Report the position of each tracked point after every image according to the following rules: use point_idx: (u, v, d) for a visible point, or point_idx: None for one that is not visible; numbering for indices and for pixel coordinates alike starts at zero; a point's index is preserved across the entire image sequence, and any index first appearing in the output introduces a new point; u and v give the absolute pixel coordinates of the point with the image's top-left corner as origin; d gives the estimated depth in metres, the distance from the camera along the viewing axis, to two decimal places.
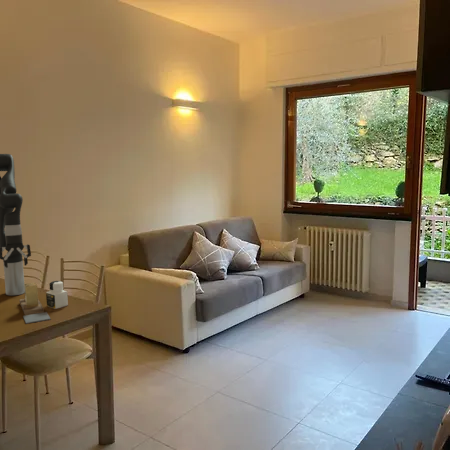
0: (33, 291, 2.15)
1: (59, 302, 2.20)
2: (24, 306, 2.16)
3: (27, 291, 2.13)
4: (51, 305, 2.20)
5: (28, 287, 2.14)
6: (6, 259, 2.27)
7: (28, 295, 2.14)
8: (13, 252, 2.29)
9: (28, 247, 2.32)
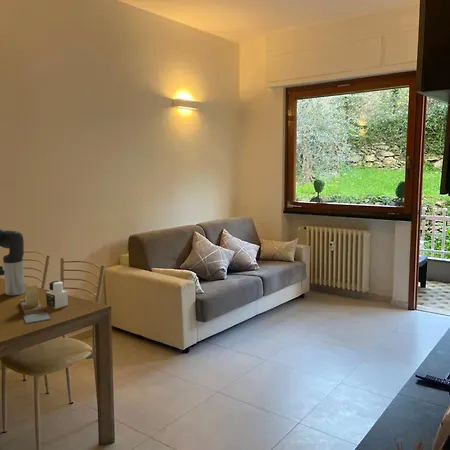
0: (33, 291, 2.15)
1: (59, 302, 2.20)
2: (24, 306, 2.16)
3: (27, 291, 2.13)
4: (51, 305, 2.20)
5: (28, 287, 2.14)
6: None
7: (28, 295, 2.14)
8: None
9: None
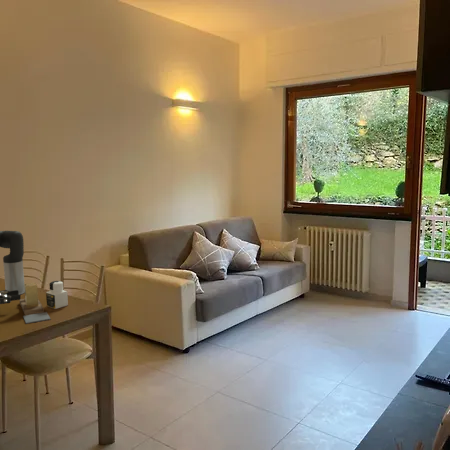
0: (33, 291, 2.15)
1: (59, 302, 2.20)
2: (24, 306, 2.16)
3: (27, 291, 2.13)
4: (51, 305, 2.20)
5: (28, 287, 2.14)
6: (9, 295, 2.16)
7: (28, 295, 2.14)
8: None
9: None
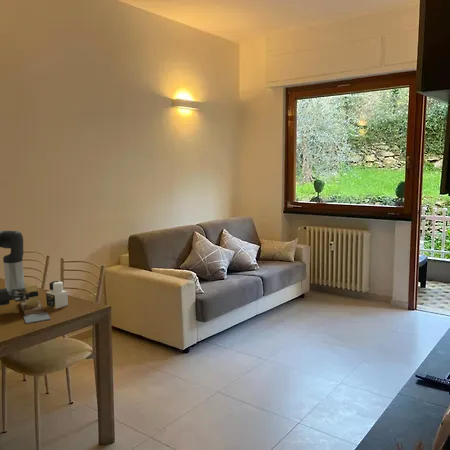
0: (33, 291, 2.15)
1: (59, 302, 2.20)
2: (24, 306, 2.16)
3: (27, 291, 2.13)
4: (51, 305, 2.20)
5: (28, 287, 2.14)
6: None
7: None
8: None
9: None
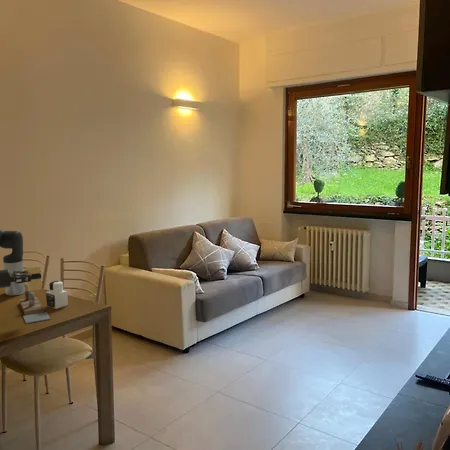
0: (36, 273, 2.01)
1: (59, 302, 2.20)
2: (24, 306, 2.16)
3: (29, 273, 2.00)
4: (51, 305, 2.20)
5: (30, 269, 2.00)
6: None
7: None
8: None
9: None
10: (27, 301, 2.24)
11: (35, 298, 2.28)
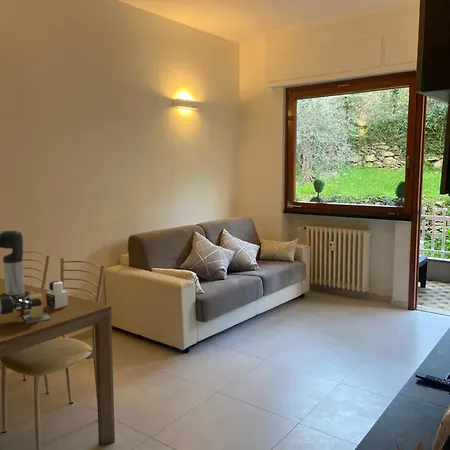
0: None
1: (59, 302, 2.20)
2: None
3: None
4: (51, 305, 2.20)
5: (32, 298, 2.02)
6: None
7: None
8: None
9: None
10: None
11: None
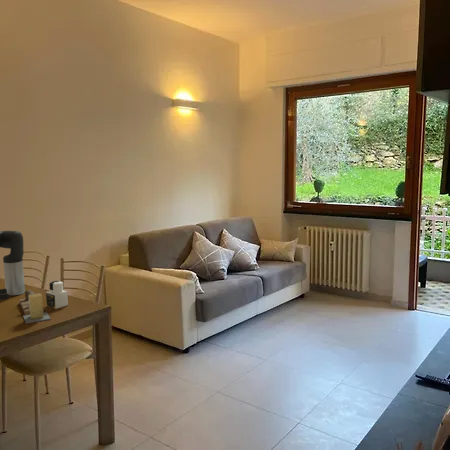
0: (38, 303, 2.03)
1: (59, 302, 2.20)
2: (24, 306, 2.16)
3: (31, 302, 2.02)
4: (51, 305, 2.20)
5: (32, 298, 2.02)
6: None
7: (32, 306, 2.02)
8: None
9: None
10: (27, 301, 2.24)
11: None
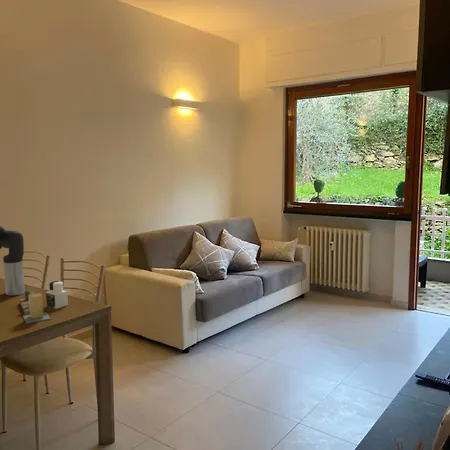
0: (38, 303, 2.03)
1: (59, 302, 2.20)
2: (24, 306, 2.16)
3: (31, 302, 2.02)
4: (51, 305, 2.20)
5: (32, 298, 2.02)
6: None
7: (32, 306, 2.02)
8: None
9: None
10: (27, 301, 2.24)
11: None
